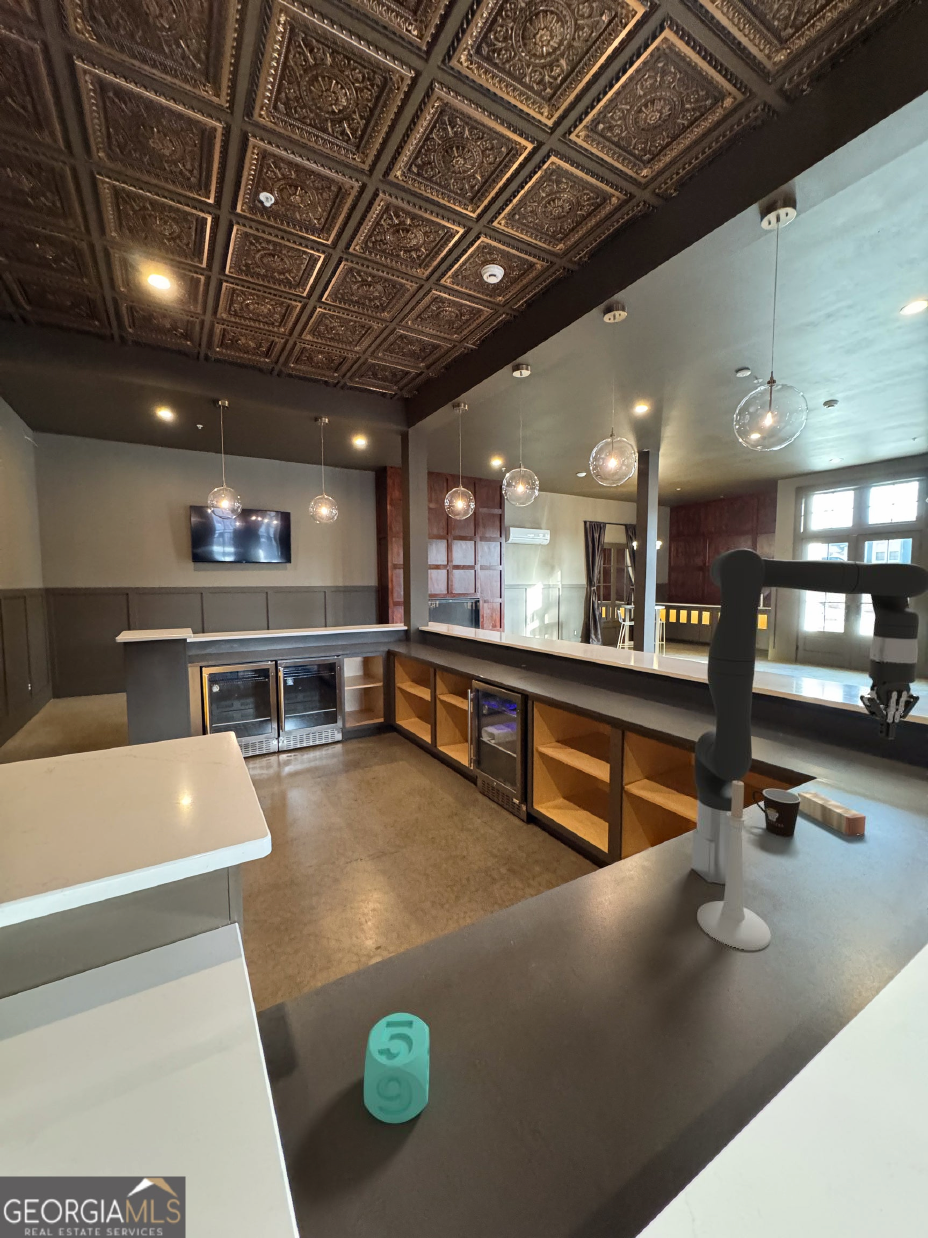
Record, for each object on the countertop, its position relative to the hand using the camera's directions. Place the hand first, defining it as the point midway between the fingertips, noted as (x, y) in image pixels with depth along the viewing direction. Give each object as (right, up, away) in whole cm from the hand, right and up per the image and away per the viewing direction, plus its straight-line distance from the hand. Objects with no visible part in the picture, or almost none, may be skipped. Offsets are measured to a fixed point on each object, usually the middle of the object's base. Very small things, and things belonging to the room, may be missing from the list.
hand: (886, 738), depth 105 cm
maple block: (+14, -30, +25) cm, 42 cm away
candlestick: (-37, -36, -8) cm, 52 cm away
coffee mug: (-5, -32, +30) cm, 44 cm away
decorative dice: (-100, -39, -38) cm, 114 cm away
